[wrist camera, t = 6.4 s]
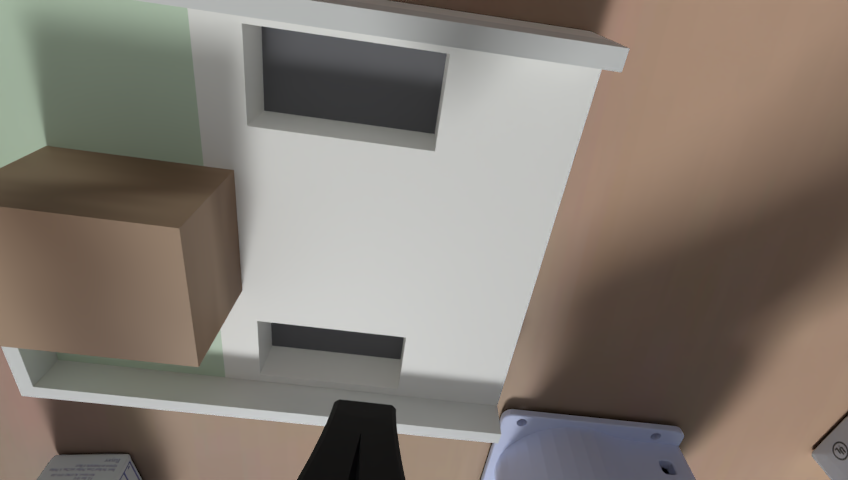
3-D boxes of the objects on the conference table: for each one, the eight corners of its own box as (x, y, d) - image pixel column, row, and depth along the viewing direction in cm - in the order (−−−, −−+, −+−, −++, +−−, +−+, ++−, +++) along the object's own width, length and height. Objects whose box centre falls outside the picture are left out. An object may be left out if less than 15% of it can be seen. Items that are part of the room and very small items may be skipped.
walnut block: (233, 170, 16) (179, 228, 12) (242, 290, 18) (198, 367, 15) (46, 145, 16) (-64, 198, 12) (81, 272, 18) (-2, 345, 15)
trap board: (590, 31, 15) (629, 48, 12) (489, 381, 23) (498, 443, 20) (-46, -66, 14) (-174, -73, 11) (77, 336, 22) (21, 396, 19)
